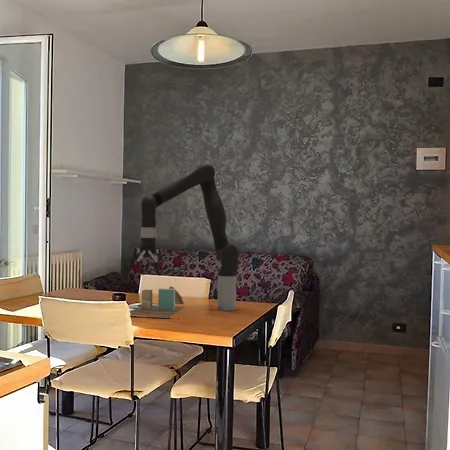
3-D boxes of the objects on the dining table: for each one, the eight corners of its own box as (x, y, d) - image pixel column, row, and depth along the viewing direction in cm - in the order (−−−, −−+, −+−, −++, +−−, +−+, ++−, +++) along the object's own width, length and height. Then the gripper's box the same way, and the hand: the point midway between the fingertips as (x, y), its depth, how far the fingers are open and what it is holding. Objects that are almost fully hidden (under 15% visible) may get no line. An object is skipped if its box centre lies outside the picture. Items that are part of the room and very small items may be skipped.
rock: (189, 301, 280) (176, 296, 287) (183, 289, 276) (170, 284, 282) (176, 315, 275) (163, 310, 281) (170, 303, 270) (157, 298, 277)
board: (144, 306, 274) (144, 304, 274) (185, 309, 269) (185, 306, 269) (123, 316, 246) (123, 314, 246) (168, 319, 242) (168, 316, 242)
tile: (159, 308, 263) (159, 288, 262) (174, 309, 261) (175, 289, 261) (157, 309, 261) (158, 288, 260) (173, 310, 259) (173, 289, 259)
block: (144, 307, 265) (144, 289, 265) (152, 307, 264) (152, 289, 264) (141, 308, 261) (142, 290, 261) (149, 309, 260) (149, 290, 260)
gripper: (164, 236, 264) (163, 269, 264) (137, 236, 267) (136, 268, 267) (160, 237, 257) (159, 271, 257) (131, 236, 259) (131, 269, 260)
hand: (147, 269), depth 262 cm, fingers open, 8 cm apart
